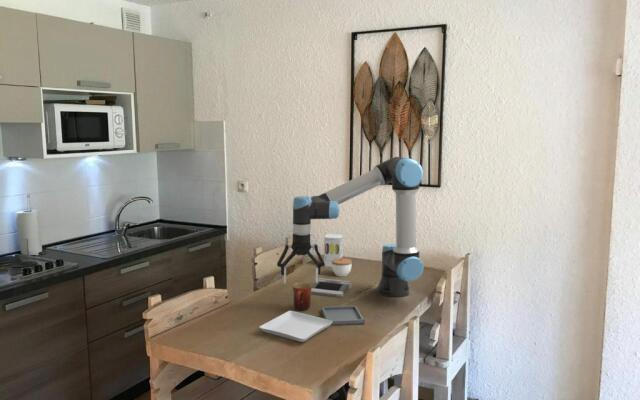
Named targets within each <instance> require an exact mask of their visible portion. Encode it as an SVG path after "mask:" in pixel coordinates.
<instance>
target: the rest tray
mask: <svg viewBox="0 0 640 400" xmlns="http://www.w3.org/2000/svg"><path fill="white" fill-rule="evenodd" d="M321 313H322V315H323V319H327V320H330V321H332V324H331V325H330V326H332V325H334V326H351V325H352V326H354V325H355V326H357V325H365V319H364V317H363V314H361V312H360V310H359V308H358V307H357V305H339V306H337V305H335V306H334V305H333V306H331V305H330V306H321ZM330 326H329V327H330Z"/></svg>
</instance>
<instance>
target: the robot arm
mask: <svg viewBox="0 0 640 400" xmlns="http://www.w3.org/2000/svg"><path fill="white" fill-rule="evenodd" d="M423 177H424V170H423V167H422V166H421V164H420V163H419V162H418V161H416V160H415V159H413V158H409V157H403V156H402V157H401V156H394V157H391V158H389V159H386V160H385V161H383V162H380V163H379V164H376V165H374V166H373V168H372V169H371V170H369V171H367V172H365V173H363V174H361V175H359V176H357V177H355V178H352V179H351V180H348V181H347V182H344V183H341V184H340V185H338V186H336V187H334V188H332V189H329V190H328V191H325V192H324V193H321V194H319V195H313V196H306V195H305V196H302V195H301V196H300V195H299V196H295V197H293V201H292V202H293V203H292V243H291V244H288V243H285V245H284V249H283V251H282V253H281V255H280V257H279V258H278V261H277V263H276V266H277V267H279V268H280V274H281V276H283V284H287V267H286V266H287V265H288V263H290V262H291V260H292V259H293V258H294V257H295V256H306V255H307V256H308V257H309V258H310V259H311V260H312V262H313V263H314V264H315V265H316V266H315V271H314V272H315V273H314V274H315V276H314V278H315V279H314V282H316V283H318V277H319V275H321V269H322V267H326V266H325V263H324V258H323V257H322V255H321V254H320V251H319V247H318V244H317V243H314V244H311V225H312V223H311V222H312V220H332V219H335V220H336V219H337V218H339V215H340V205H341V204H342V203H344V202H347V201H349V200H351V199H353V198H355V197H357V196H360V195H361V194H364V193H365V192H368V191H370V190H372V189H374V188H376V187H378V186H385V185H388V184H391V189H392V191H393V192H394V193H395V230H396V231H395V232H396V233H395V234H396V236H395V237H396V238H395V239H396V240H395V241H396V243H393V244H390V243H389V244H385V245H383V246H382V251H381V253H382V254H381V277H380V280H379V282H378V284H377V285H378V286H377V293H378V295H382V296H386V297H391V298H392V297H393V298H399V297H405V296H409V295H410V294H411V293H410V291H411V289H410V285H409V282H414V281H417V280H418V279H419V278H420V277H421V276H422V274H423V272H424V263H423V261H422V259H420V248H419V247H418V246H417V237H416V236H417V233H416V231H417V229H416V227H417V225H416V222H417V221H416V218H417V217H416V206H417V205H416V194H417V192H418V191H419V190H420V183H421V182H422V181H423ZM290 249H292V251H291V252H290V254H289V255H288V256H287V257H286V255H287V253H288V251H290ZM311 249H312V250H314V252H315V253H316V256H317V257H318V259H319V261H318V260H317V259H316V257H314V255H313V254H312V253H311V252H310V251H311ZM285 257H286V259H285ZM283 260H284V261H283Z"/></svg>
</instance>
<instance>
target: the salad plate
mask: <svg viewBox="0 0 640 400" xmlns="http://www.w3.org/2000/svg"><path fill="white" fill-rule="evenodd" d="M331 324H332V321H330V320H327V319H325V318H324V317H318V316H315V315H311V314H308V313H303V312H298V311H294V310H288V311H286V312H284V313H283V314H279V315H278V316H277V317H275V318H273V319H271V320H269V321H267V322H265V323H263V324H261V325H260V326H259V329H260V330H261V331H263V332H264V333H267V334H271V335H273V336H276V337H277V336H278V337H282V338H285V339H289V340H293V341H296V342H300V343H302V342H306V341H308V340H309V339H310V338H312V337H313V336H315V335H317V334H319V333H320V332H322V331H323V330H325V329H326V328H328V327H330V325H331Z"/></svg>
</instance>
